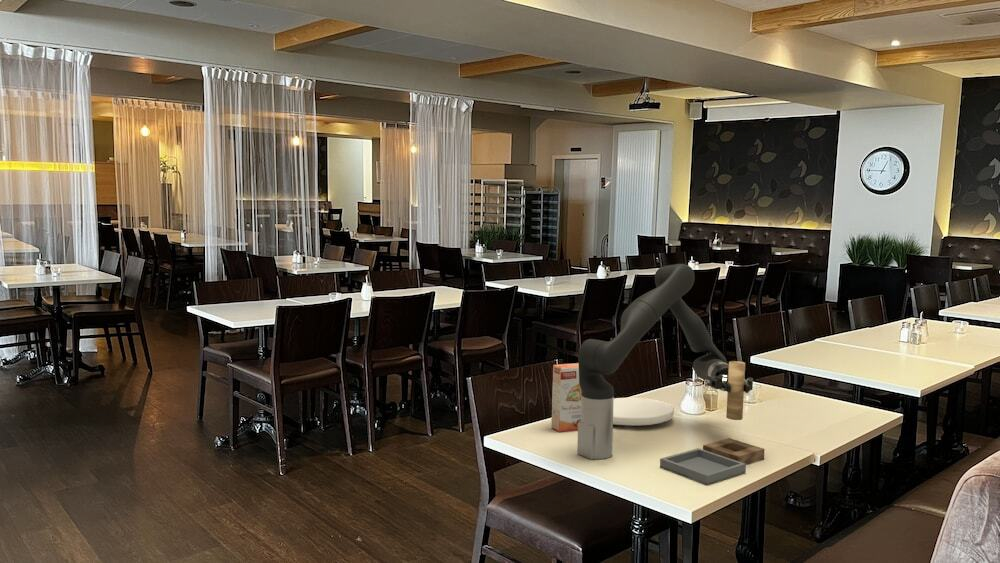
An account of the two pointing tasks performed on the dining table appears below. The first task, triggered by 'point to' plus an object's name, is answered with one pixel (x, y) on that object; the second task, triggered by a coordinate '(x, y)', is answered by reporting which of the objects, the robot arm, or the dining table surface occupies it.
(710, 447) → the socket block
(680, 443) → the dining table surface
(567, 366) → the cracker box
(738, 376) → the dowel
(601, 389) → the robot arm
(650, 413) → the plate
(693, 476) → the tray
